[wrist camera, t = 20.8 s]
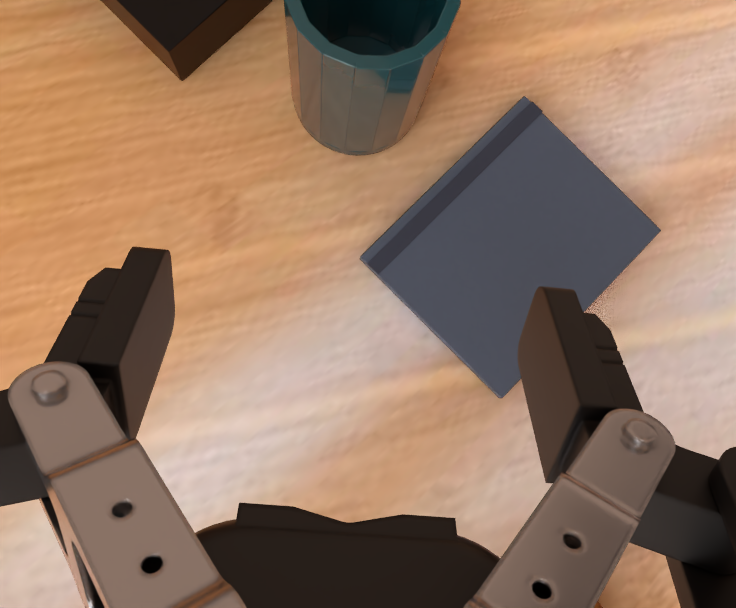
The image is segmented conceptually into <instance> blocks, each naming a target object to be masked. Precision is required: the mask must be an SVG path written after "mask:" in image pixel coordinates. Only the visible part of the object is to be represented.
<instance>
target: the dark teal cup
mask: <svg viewBox="0 0 736 608" xmlns="http://www.w3.org/2000/svg"><path fill="white" fill-rule="evenodd" d="M460 4H461V0H284V7H285V19H286V30H287V42H288V54H289V66H290V78H291V90H292V99H293V102H294V106H295V110H296V112H297V115H298V117H299V119H300V121H301V123H302V125H303V126H304V128H305V129H306V130H307V131H308V133H309V134H310V135H311V136H312V137H313V138H314V139H316V140H317V141H318V142H319V143H321V144H322V145H324V146H325V147H327V148H329V149H331V150H334V151H337V152H340V153H344V154H348V155H368V154H374V153H377V152H380V151H383V150H385V149H387V148H389V147H391V146H393V145H394V144H396V143H397V142H398V141H399V140H401V139H402V138H403V137H404V136H405V135H406V134H407V132H408V131H409V130H410V128H411V127H412V125H413V124H414V122H415V119H416V117H417V114H418V112H419V110H420V107H421V105H422V103H423V100H424V97H425V95H426V92H427V90H428V87H429V85H430V82H431V79H432V77H433V74H434V72H435V69H436V67H437V64H438V62H439V59H440V56H441V54H442V51H443V49H444V46H445V44H446V41H447V38H448V36H449V33H450V31H451V28H452V26H453V23H454V20H455V18H456V15H457V13H458V10H459V8H460Z"/></svg>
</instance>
